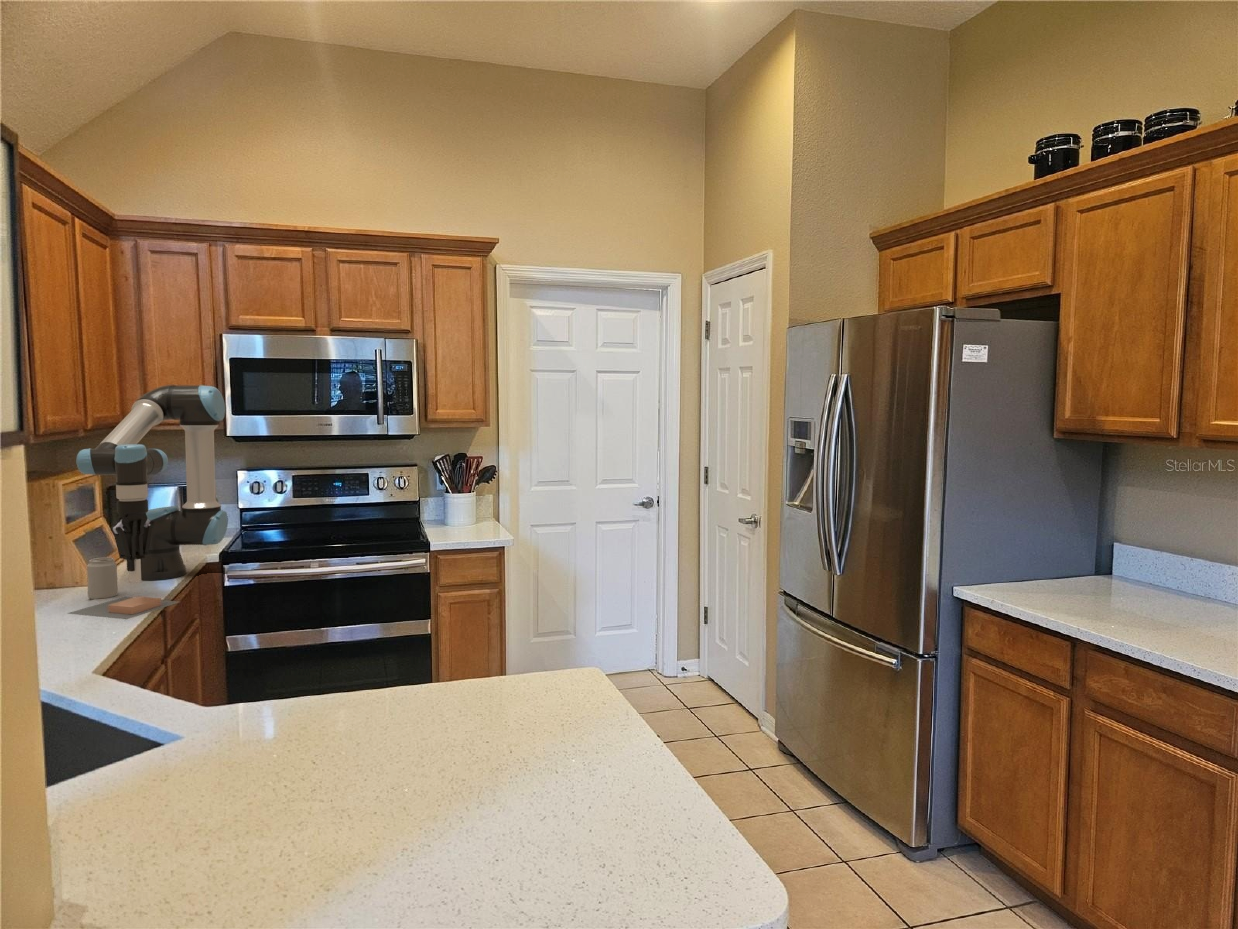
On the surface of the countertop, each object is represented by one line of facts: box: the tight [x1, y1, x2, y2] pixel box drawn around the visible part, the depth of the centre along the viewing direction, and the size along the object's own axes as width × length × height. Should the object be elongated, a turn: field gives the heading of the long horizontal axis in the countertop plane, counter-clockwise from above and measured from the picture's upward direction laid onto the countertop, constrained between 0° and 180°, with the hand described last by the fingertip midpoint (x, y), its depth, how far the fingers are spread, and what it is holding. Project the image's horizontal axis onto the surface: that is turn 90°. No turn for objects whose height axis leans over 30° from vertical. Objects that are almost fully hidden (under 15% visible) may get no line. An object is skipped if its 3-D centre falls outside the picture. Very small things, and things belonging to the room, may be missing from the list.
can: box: [86, 556, 119, 601], centre depth 234 cm, size 8×8×12 cm
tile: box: [108, 595, 162, 615], centre depth 220 cm, size 2×8×10 cm
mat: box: [66, 596, 180, 620], centre depth 222 cm, size 19×20×1 cm
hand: (135, 581), depth 220 cm, fingers closed
